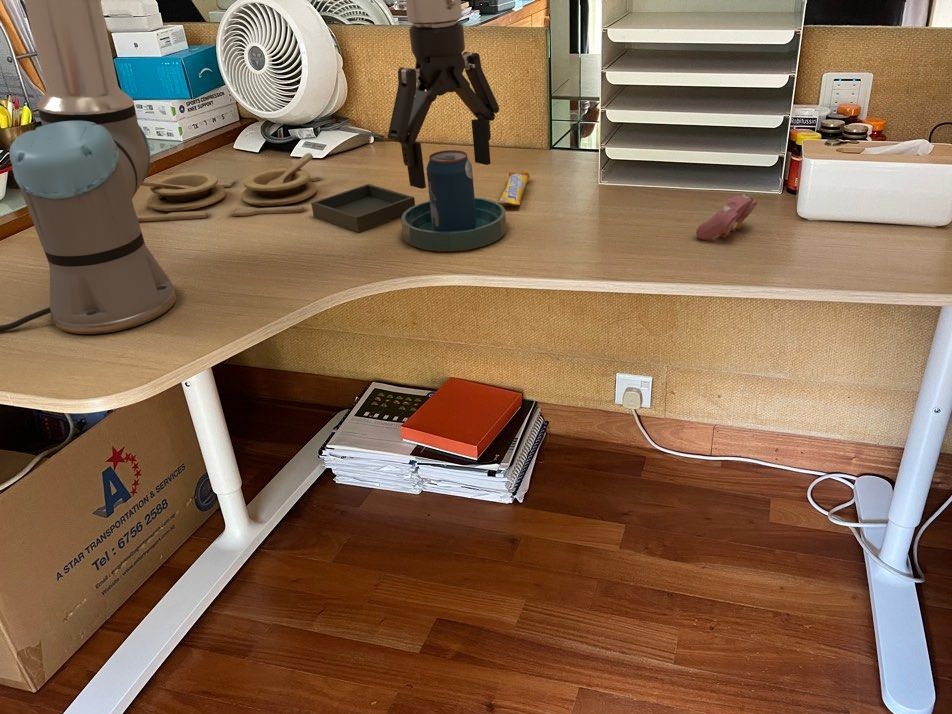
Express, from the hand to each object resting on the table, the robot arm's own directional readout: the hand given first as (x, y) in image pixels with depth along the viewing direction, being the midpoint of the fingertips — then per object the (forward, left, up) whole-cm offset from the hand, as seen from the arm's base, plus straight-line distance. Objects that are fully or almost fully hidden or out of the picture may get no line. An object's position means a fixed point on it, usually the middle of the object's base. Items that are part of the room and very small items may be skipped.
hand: (451, 174), depth 127 cm
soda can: (0, 0, -9) cm, 9 cm away
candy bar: (+19, +5, -10) cm, 22 cm away
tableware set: (-12, +45, -10) cm, 48 cm away
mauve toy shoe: (+25, -34, -10) cm, 43 cm away
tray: (-3, +19, -9) cm, 22 cm away
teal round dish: (0, 0, -9) cm, 9 cm away
